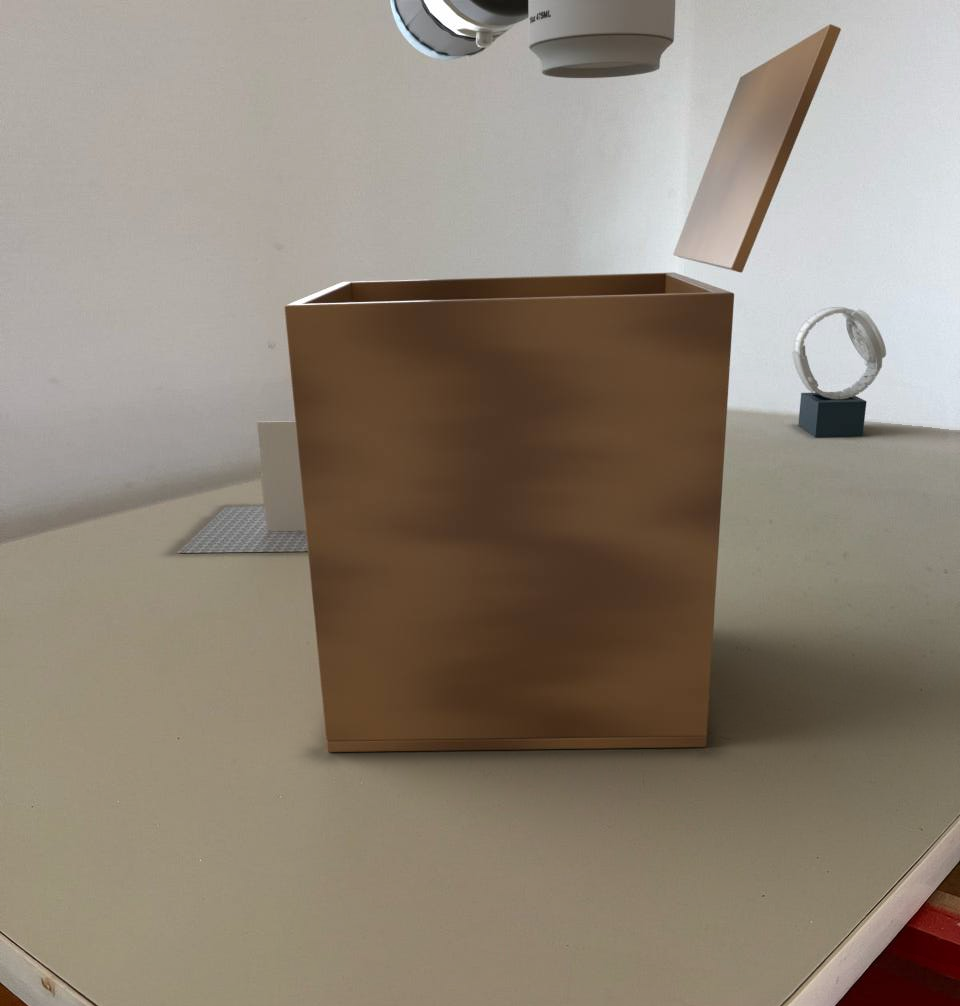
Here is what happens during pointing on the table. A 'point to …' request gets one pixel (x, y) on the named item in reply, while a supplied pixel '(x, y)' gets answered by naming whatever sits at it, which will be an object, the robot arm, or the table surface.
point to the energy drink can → (600, 36)
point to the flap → (753, 153)
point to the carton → (513, 507)
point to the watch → (843, 408)
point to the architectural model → (283, 503)
